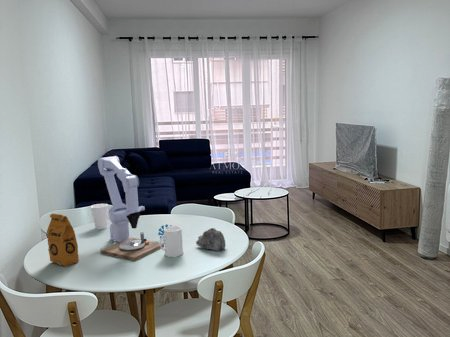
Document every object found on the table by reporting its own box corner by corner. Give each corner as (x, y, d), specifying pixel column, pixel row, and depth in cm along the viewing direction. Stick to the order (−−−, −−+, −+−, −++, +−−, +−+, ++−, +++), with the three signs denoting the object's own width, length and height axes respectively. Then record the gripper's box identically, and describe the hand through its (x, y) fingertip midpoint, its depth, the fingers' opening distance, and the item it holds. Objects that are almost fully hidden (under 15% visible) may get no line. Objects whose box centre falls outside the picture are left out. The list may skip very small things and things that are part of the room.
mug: (165, 260, 173) (163, 234, 171) (155, 255, 179) (153, 230, 178) (187, 253, 181) (185, 228, 179) (176, 249, 187) (175, 224, 185)
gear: (160, 241, 194) (157, 223, 199) (157, 247, 198) (155, 229, 203) (181, 240, 198) (178, 223, 204) (178, 246, 202) (175, 229, 208)
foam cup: (92, 226, 229) (89, 205, 227) (108, 224, 233) (106, 202, 231) (94, 231, 220) (91, 208, 218) (110, 228, 224) (109, 206, 222)
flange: (122, 252, 180) (121, 240, 179) (117, 244, 191) (116, 233, 190) (152, 246, 186) (151, 235, 185) (145, 239, 197) (145, 228, 196)
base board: (100, 253, 185) (99, 245, 185) (130, 240, 202) (130, 233, 202) (134, 260, 174) (134, 253, 174) (164, 246, 191) (163, 239, 190)
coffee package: (62, 269, 168) (56, 219, 165) (47, 263, 176) (41, 215, 172) (82, 261, 176) (78, 213, 173) (67, 255, 184) (62, 210, 180)
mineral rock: (195, 246, 189) (194, 226, 188) (214, 241, 195) (213, 222, 193) (208, 254, 179) (207, 233, 177) (228, 249, 184) (227, 228, 183)
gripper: (127, 205, 181) (129, 233, 183) (148, 198, 193) (150, 224, 195) (116, 203, 185) (118, 231, 187) (137, 197, 197) (139, 223, 199)
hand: (134, 227), depth 191 cm, fingers closed
